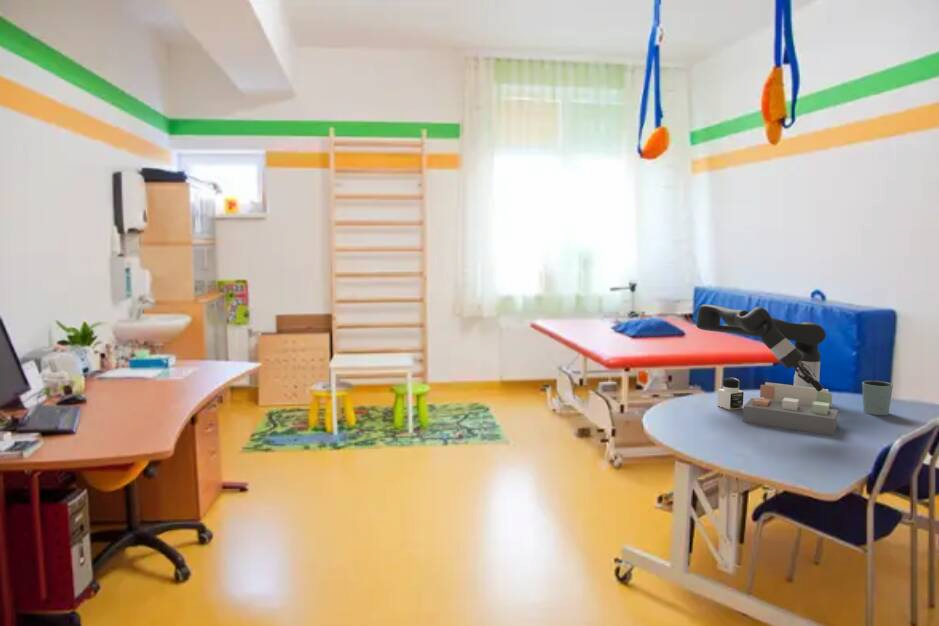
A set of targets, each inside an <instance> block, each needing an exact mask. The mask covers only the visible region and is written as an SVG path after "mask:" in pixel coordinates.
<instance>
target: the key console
mask: <svg viewBox="0 0 939 626" xmlns="http://www.w3.org/2000/svg"><path fill="white" fill-rule="evenodd" d="M759 389H760V391H759V392H760V393H759V398H762V399H769V400H770V405H769V406H768V407H767V406H760V405H753V401H754V400H755V398H753V397H751V398H750V399H749V400H748V401H747V402H746V403H745V404H743V414H742V415H743V417H742V422H745V423H751V424H758V425H763V426H769V427H771V426H772V427H776V428H783V429H790V430H797V431H802V432H809V433H816V434H824V435H829V436H833V435H834V434H835V431H836V428H837V427H838V416H839V410H838V409H835V408H829V415H825V414H818V413H812V404H813V402H814V401H816V402H824V403H830V405H829V407H833V405H832V404H833V392H832V393H831V392H829V389H828V388H823V389H822V390H821V391H817V390H816V389H815V388H811V387H802V386H794V385H792V384H786V383H785V384H784V383H776V382H767V381H765V382H764V384H760V388H759ZM784 398H793V399H799V409H798V411H796V410H789V409H782V400H783V399H784Z"/></svg>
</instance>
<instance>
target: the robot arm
mask: <svg viewBox="0 0 939 626" xmlns="http://www.w3.org/2000/svg"><path fill="white" fill-rule="evenodd" d="M697 312H698V314H697V318H696V319H697V320H696V327H697V329H699V330H701V331H702V330H703V331H706V332H707V331H709V332H718V333H730V334H738V335H743V336H744V335H745V336H748V337H755V338H760V340H761V342H762V343H763V344H764V345H765V347H767V348H768V349H769V350H770V352H771V353H772V354H773V356H774V357H775V358H776V359H777V360H778V361H779V362H780V363H781V364H782V365H783V366H784V367H785V368H786V369H787V370H788V369H791V368H793V369H794V372H795V373H794V376H793V383H792V384H793V385H794V386H802V387H811V388H815V389H816V390H817V391H821V390H822V389H825V387H824V386H823V384H821V383H820V375H821V373H820V372H821V371H820V370H821V357H822V355H821V353H820V350H819V345H820V344H822V343H823V342H824V340H825V339H826V335H827V334H826V331H825V329H824V328H823V327H822V326H821V325H820V324H817V323H815V322H811V321H802V322H801V323H796V322H789V321H785V320H782V319H778V318H776V317H772V316H771V315H770V313H769V312H768V310H767V309H765V308H764V307H762V306H755V308H752V310H751V311H748V310H745V309H733V308H728V307H725V306H720V305H714V304H706V303H705V304H702V305H699V308H698V311H697ZM721 319H722V321H723V323H725V324H720V323H721ZM791 341H793V342H794V344H793V343H792V342H791Z"/></svg>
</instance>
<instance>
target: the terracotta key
mask: <svg viewBox="0 0 939 626" xmlns="http://www.w3.org/2000/svg"><path fill="white" fill-rule="evenodd" d="M754 399H755V400H754V401H753V405H760V406H767V407H768V406H769V405H770V400H769V399H764V398H763V397H756V398H754Z"/></svg>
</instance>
